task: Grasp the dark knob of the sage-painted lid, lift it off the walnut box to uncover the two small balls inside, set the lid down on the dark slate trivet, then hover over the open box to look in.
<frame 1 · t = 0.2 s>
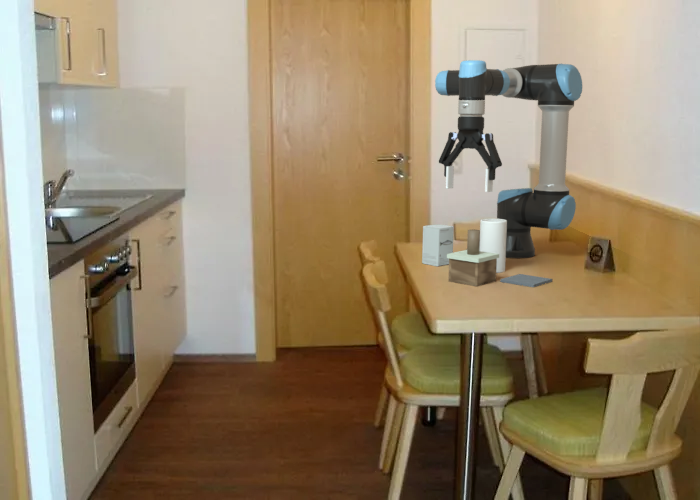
hand: (468, 190, 241), 27 cm above the table, fingers open, 13 cm apart
supplement box: (437, 264, 273), on the table
lid: (473, 257, 244), point 7 cm above the table, touching box
ball b: (468, 274, 244), point 2 cm above the table, touching box
cup: (491, 270, 262), on the table
box: (472, 281, 246), on the table
ball a: (476, 272, 247), point 2 cm above the table, touching box
trivet: (526, 281, 245), on the table
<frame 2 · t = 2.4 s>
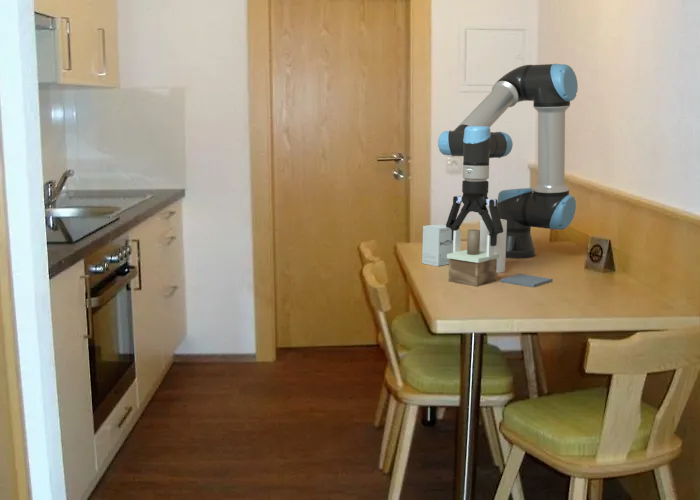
hand: (473, 254, 244), 8 cm above the table, fingers closed on lid, 11 cm apart
lid: (473, 257, 244), point 7 cm above the table, touching box, gripper
everything else where it was.
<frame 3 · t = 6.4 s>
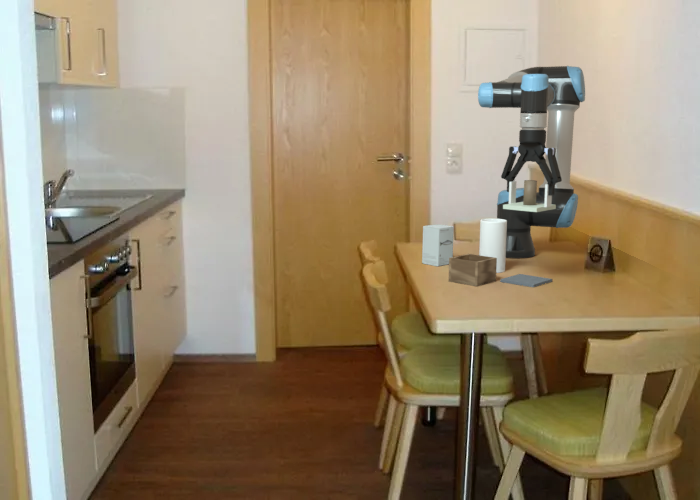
hand: (529, 205, 241), 23 cm above the table, fingers closed on lid, 11 cm apart
lid: (529, 208, 242), point 22 cm above the table, touching gripper
everything else where it was.
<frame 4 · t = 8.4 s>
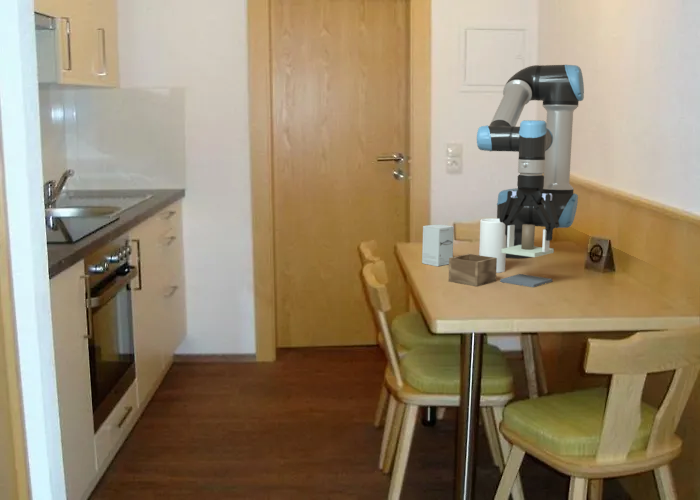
hand: (527, 249, 244), 10 cm above the table, fingers closed on lid, 11 cm apart
lid: (527, 252, 244), point 9 cm above the table, touching gripper
everything else where it was.
when the fingers open (3 cm above the table, at t = 10.4 s): lid drops 2 cm, resting on trivet.
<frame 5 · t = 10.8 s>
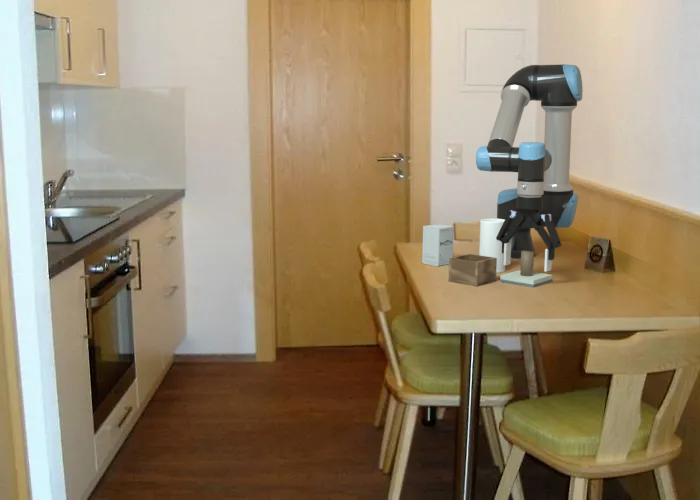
hand: (526, 267, 245), 4 cm above the table, fingers open, 13 cm apart
lid: (526, 279, 245), point 1 cm above the table, touching trivet
everything else where it was.
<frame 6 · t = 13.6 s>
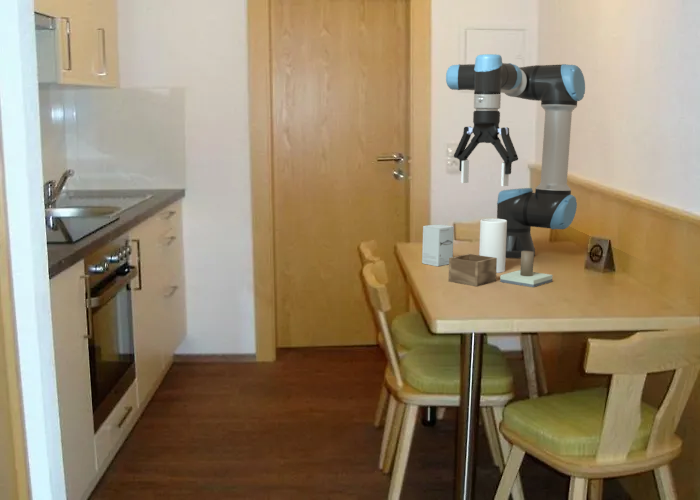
hand: (484, 184, 240), 29 cm above the table, fingers open, 13 cm apart
nothing on the table moved.
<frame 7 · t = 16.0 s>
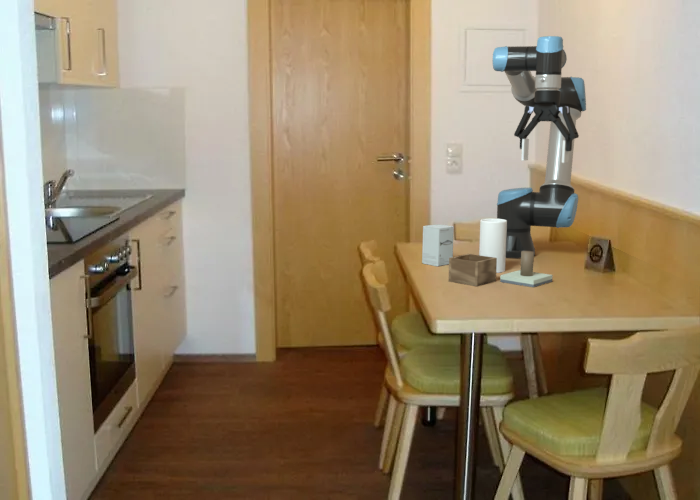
hand: (544, 161, 251), 35 cm above the table, fingers open, 13 cm apart
nothing on the table moved.
at the end: lid inside the target area on the trivet (0.0 cm from its centre), point 0.8 cm above the trivet's base; lid tilted 0°; lid touching trivet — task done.
